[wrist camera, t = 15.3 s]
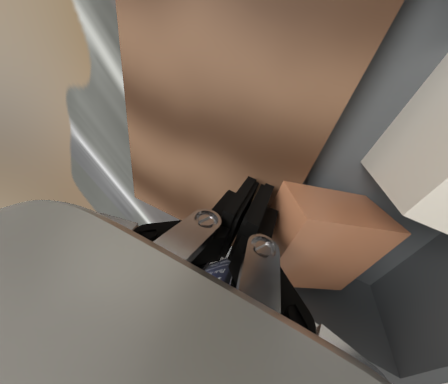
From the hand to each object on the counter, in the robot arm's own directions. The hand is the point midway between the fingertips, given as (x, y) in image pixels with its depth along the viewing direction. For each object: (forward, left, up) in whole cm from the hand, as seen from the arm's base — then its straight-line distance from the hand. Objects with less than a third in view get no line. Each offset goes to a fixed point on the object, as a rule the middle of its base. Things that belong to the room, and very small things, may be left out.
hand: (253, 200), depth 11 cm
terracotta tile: (+1, +4, -1) cm, 4 cm away
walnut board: (-4, -4, -3) cm, 6 cm away
